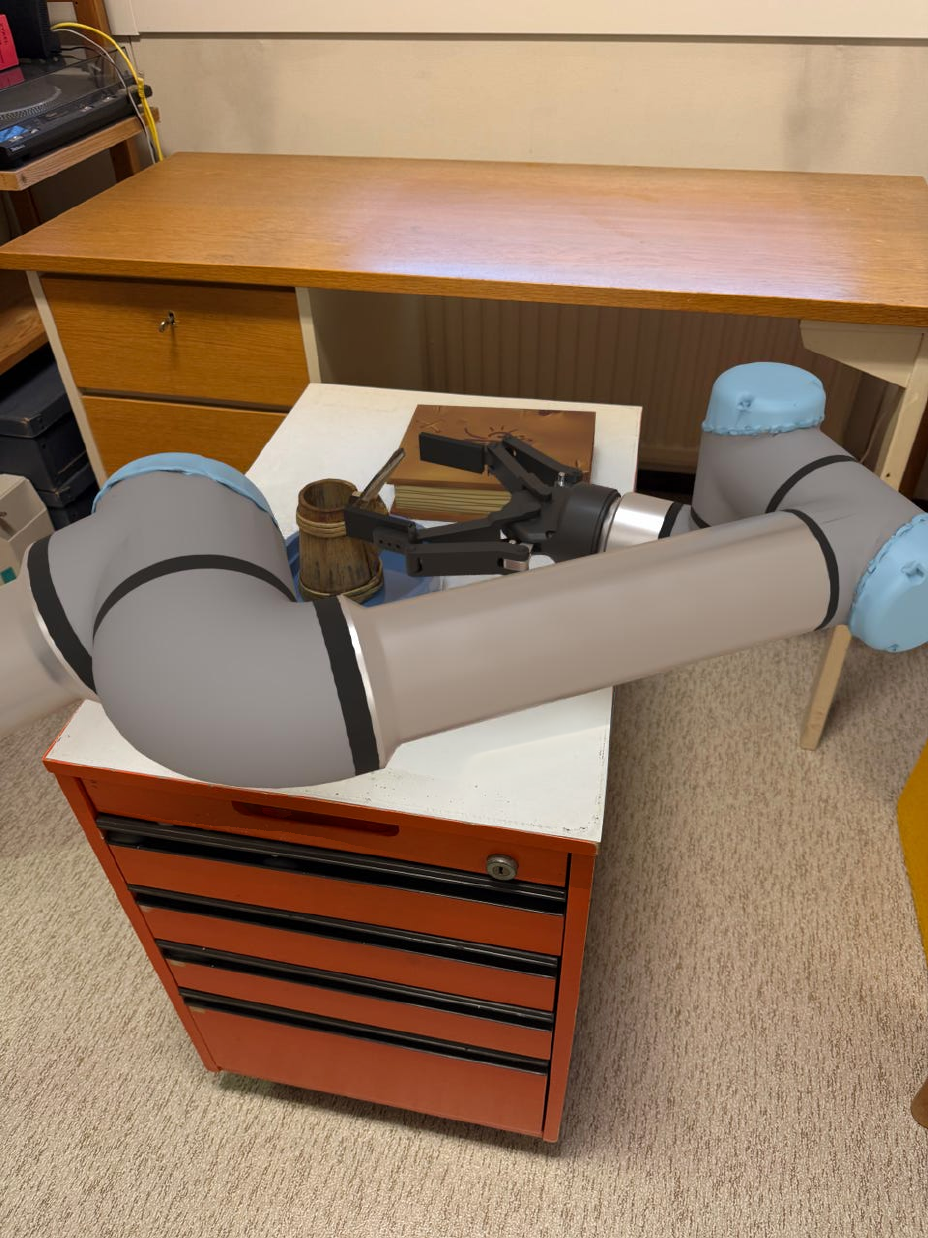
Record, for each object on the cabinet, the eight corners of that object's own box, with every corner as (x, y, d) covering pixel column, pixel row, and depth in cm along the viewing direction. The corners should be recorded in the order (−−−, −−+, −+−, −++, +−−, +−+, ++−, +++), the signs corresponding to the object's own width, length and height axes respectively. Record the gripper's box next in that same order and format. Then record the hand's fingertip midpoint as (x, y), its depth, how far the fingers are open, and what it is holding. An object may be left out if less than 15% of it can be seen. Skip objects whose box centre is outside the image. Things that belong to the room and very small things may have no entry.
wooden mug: (396, 629, 88) (378, 475, 76) (282, 597, 93) (250, 446, 81) (435, 578, 94) (424, 427, 82) (327, 550, 99) (302, 403, 87)
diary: (593, 448, 115) (596, 408, 111) (584, 531, 101) (587, 488, 98) (421, 439, 119) (418, 399, 115) (389, 517, 105) (385, 475, 101)
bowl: (286, 664, 86) (278, 630, 83) (270, 560, 99) (263, 527, 96) (460, 630, 89) (458, 596, 86) (423, 533, 102) (420, 500, 99)
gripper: (554, 664, 66) (316, 593, 74) (650, 497, 83) (448, 452, 90) (559, 587, 61) (303, 518, 69) (659, 425, 78) (445, 384, 85)
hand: (385, 481), depth 80 cm, fingers open, 13 cm apart
